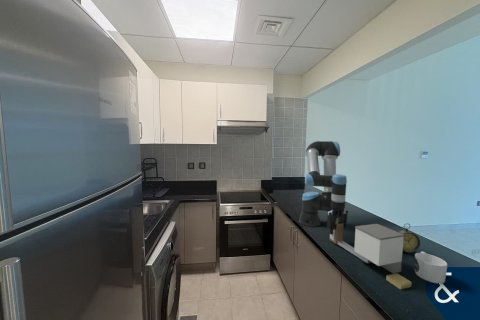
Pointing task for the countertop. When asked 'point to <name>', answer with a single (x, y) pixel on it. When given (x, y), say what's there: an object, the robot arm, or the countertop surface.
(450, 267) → the countertop surface
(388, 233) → the toe kick cabinet
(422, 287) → the countertop surface
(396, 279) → the yellow sponge
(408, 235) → the alarm clock
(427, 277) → the mug
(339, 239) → the brown block grey strip
